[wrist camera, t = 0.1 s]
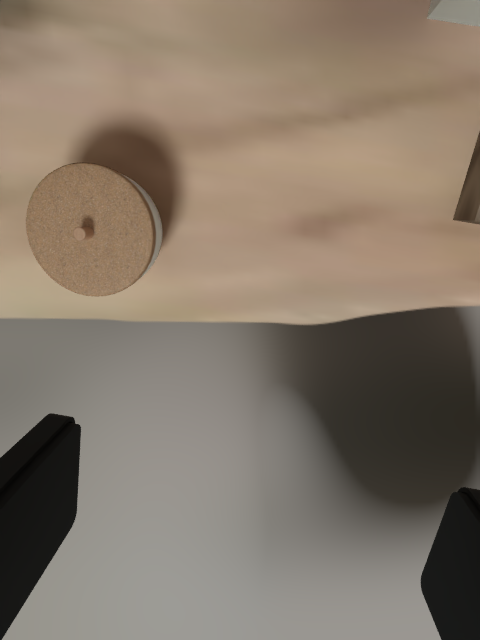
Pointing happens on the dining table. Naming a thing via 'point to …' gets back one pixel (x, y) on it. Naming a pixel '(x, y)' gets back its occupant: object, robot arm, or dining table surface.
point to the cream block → (455, 11)
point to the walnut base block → (470, 191)
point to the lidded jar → (93, 229)
